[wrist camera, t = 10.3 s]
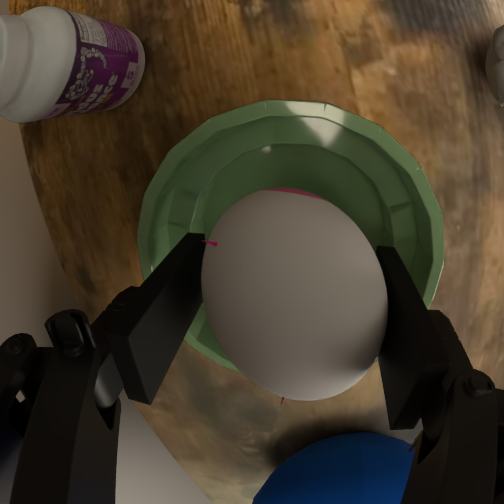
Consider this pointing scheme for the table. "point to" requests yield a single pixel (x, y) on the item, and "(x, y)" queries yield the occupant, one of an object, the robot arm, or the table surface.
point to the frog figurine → (496, 65)
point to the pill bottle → (65, 64)
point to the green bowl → (292, 176)
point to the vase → (342, 472)
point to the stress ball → (294, 294)
